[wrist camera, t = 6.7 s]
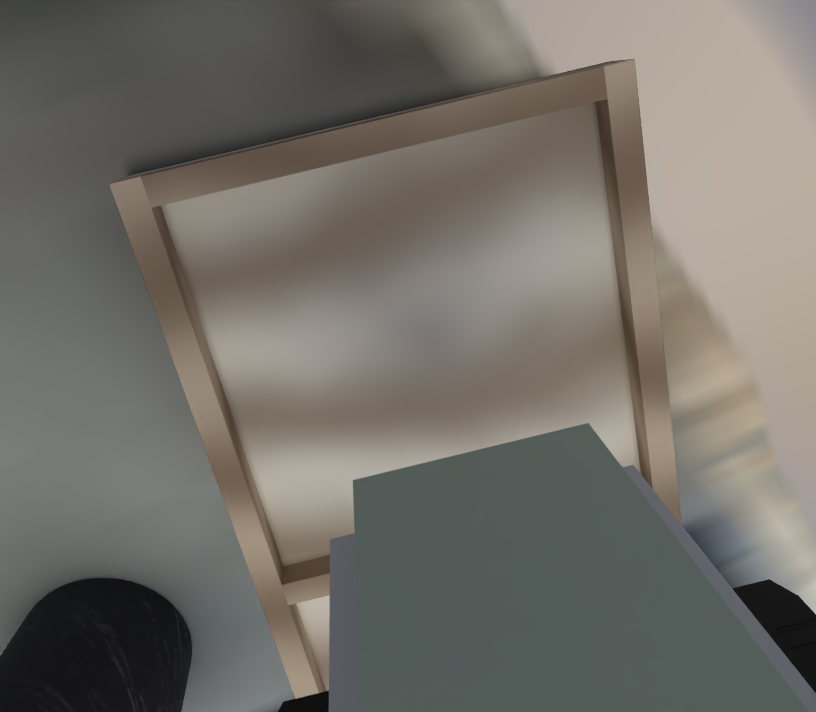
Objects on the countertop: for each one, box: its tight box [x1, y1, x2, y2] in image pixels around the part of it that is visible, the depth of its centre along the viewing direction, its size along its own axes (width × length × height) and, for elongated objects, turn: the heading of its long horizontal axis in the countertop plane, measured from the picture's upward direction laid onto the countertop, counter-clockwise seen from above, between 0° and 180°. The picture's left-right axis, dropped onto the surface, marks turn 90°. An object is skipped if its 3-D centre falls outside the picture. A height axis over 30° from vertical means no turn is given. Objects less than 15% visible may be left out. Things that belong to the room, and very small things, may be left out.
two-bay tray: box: [109, 59, 682, 699], centre depth 30 cm, size 33×17×2 cm, turn 13°
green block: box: [353, 423, 809, 712], centre depth 12 cm, size 5×5×8 cm
